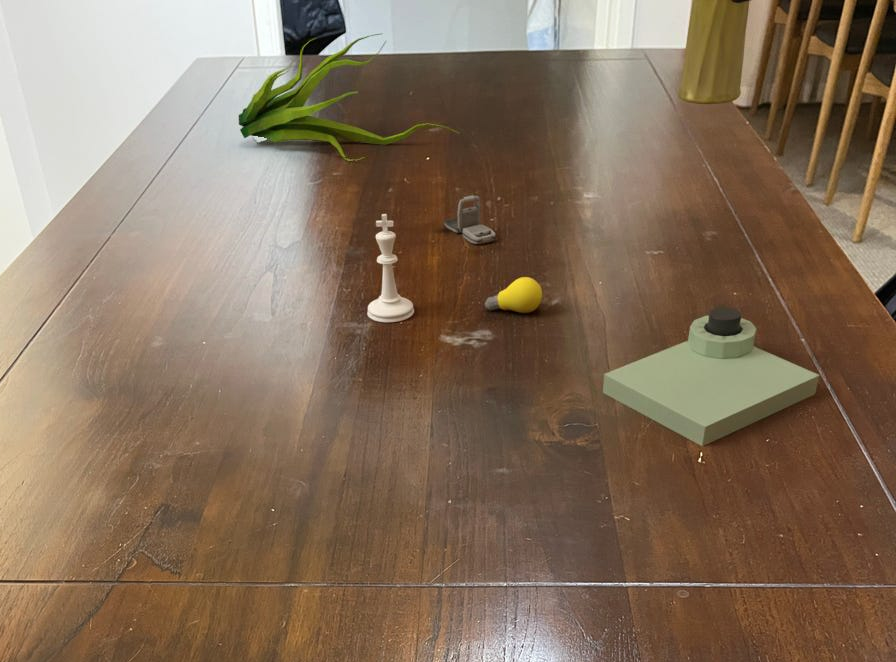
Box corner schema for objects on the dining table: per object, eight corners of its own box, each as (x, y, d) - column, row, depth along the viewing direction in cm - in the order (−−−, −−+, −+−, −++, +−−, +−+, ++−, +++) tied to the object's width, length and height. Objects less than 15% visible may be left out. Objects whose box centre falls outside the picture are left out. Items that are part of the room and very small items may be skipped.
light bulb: (545, 315, 103) (536, 288, 100) (490, 329, 105) (479, 303, 102) (546, 293, 105) (537, 266, 102) (491, 307, 107) (481, 280, 104)
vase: (703, 108, 99) (725, -68, 90) (665, 95, 103) (682, -73, 94) (752, 98, 101) (778, -76, 92) (713, 86, 105) (734, -81, 96)
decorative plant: (376, 181, 139) (368, 60, 129) (235, 146, 154) (218, 36, 144) (459, 147, 148) (458, 32, 139) (318, 117, 164) (308, 12, 154)
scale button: (721, 322, 93) (724, 304, 92) (745, 332, 91) (748, 313, 90) (700, 330, 92) (702, 312, 91) (723, 341, 90) (726, 322, 89)
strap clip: (498, 241, 119) (498, 204, 117) (475, 246, 118) (475, 209, 116) (463, 220, 125) (463, 184, 122) (441, 225, 124) (441, 189, 121)
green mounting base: (715, 344, 97) (721, 309, 94) (821, 391, 89) (830, 354, 86) (599, 391, 91) (602, 355, 88) (702, 447, 83) (708, 408, 80)
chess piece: (371, 302, 108) (363, 206, 101) (417, 303, 107) (412, 206, 100) (363, 322, 104) (354, 223, 97) (410, 323, 103) (405, 223, 97)
